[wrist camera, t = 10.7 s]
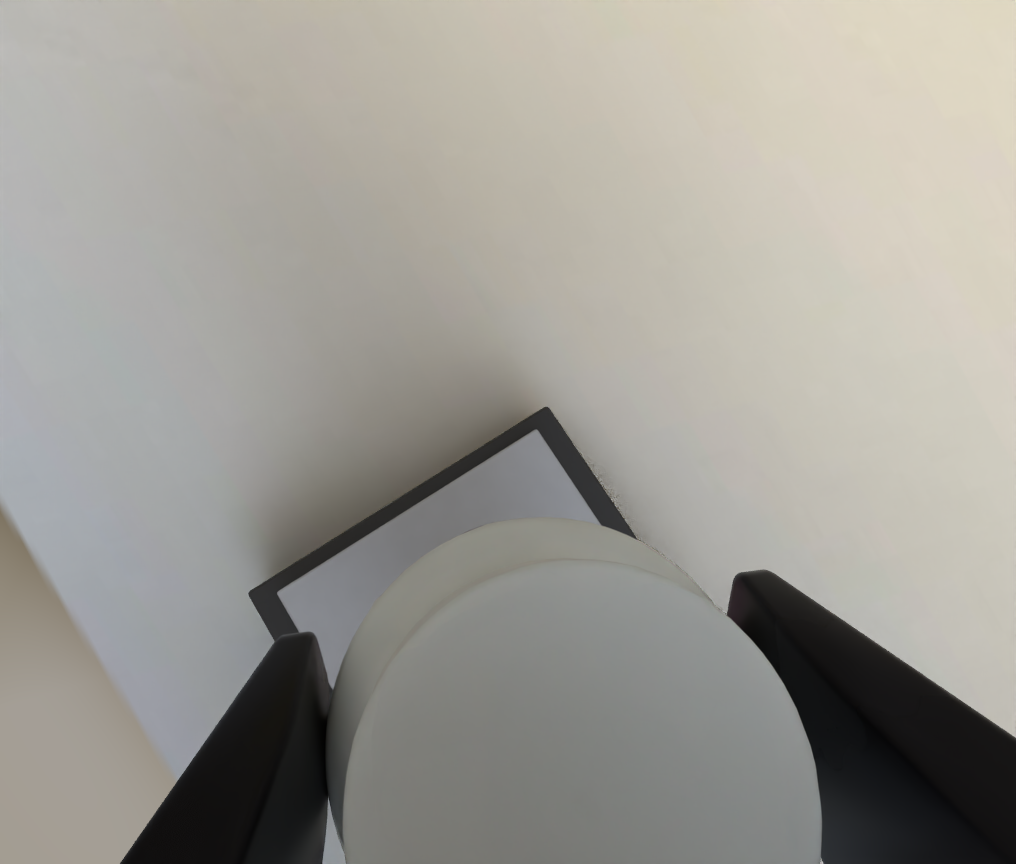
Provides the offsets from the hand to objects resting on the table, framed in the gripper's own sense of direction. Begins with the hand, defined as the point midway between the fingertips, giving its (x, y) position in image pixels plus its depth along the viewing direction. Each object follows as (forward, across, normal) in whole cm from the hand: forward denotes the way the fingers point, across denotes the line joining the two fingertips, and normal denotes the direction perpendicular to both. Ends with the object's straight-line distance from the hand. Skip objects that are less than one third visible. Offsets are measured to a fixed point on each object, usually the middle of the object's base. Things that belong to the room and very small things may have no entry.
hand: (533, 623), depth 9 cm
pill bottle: (+4, 0, +6) cm, 7 cm away
